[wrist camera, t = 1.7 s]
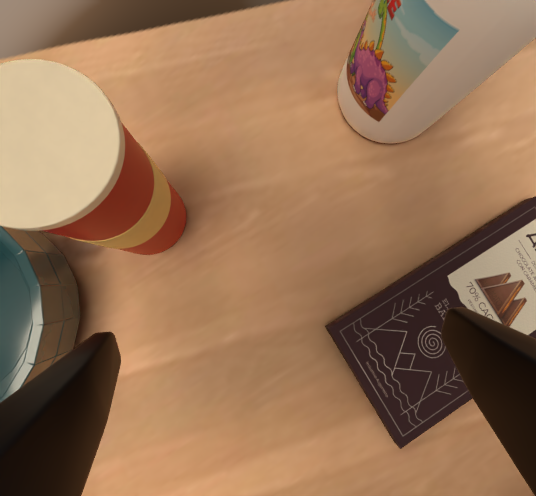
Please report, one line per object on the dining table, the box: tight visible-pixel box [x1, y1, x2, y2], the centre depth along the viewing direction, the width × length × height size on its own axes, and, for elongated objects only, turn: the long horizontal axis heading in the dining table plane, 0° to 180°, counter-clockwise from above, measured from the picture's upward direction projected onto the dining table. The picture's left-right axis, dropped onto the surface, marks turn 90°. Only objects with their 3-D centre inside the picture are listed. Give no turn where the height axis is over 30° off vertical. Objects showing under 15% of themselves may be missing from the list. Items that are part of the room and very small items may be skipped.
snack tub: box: [0, 59, 186, 255], centre depth 16 cm, size 6×6×12 cm
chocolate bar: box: [325, 197, 536, 449], centre depth 23 cm, size 9×1×18 cm
